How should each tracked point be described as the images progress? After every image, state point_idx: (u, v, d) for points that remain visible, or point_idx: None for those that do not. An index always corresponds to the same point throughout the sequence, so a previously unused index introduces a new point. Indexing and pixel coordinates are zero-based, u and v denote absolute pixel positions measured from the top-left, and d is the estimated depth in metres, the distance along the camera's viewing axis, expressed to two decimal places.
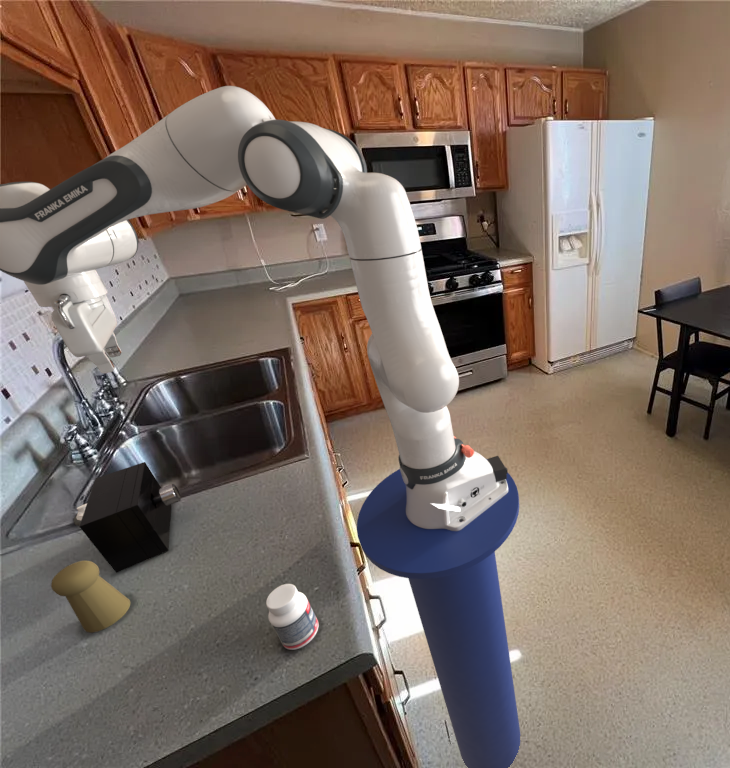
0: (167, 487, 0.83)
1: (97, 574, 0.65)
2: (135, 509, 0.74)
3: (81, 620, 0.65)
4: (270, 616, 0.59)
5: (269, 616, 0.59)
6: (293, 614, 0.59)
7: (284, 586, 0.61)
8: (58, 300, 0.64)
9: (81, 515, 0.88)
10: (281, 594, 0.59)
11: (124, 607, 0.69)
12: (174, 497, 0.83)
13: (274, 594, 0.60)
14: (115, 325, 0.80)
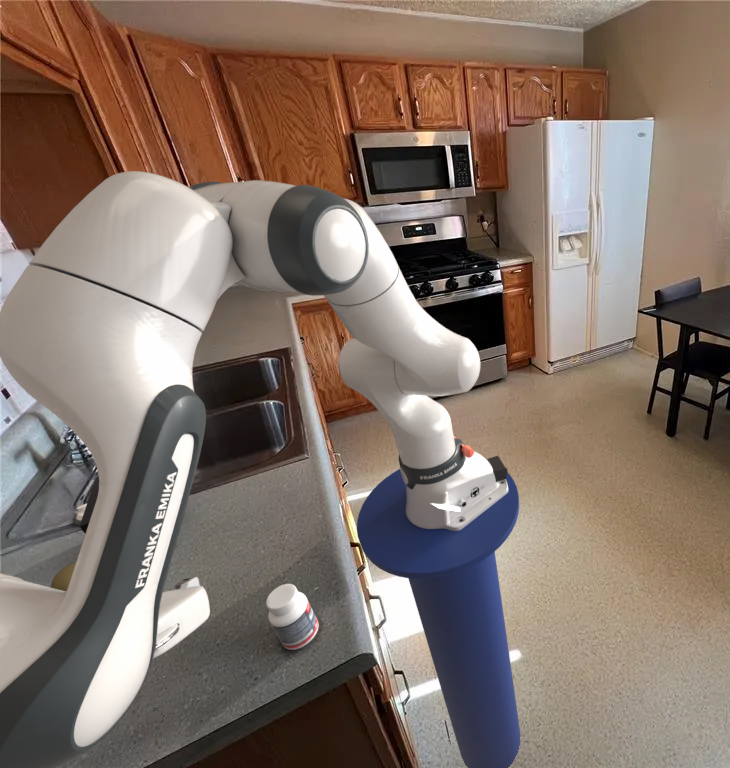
0: None
1: None
2: None
3: None
4: (270, 616, 0.59)
5: (269, 616, 0.59)
6: (293, 614, 0.59)
7: (284, 586, 0.61)
8: None
9: (81, 515, 0.88)
10: (281, 594, 0.59)
11: None
12: None
13: (274, 594, 0.60)
14: None
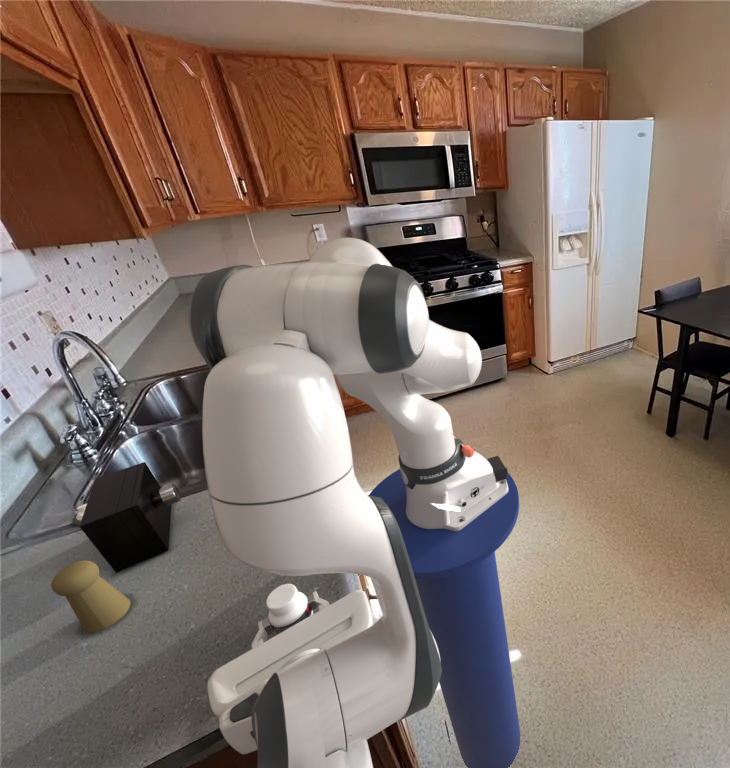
0: (167, 487, 0.83)
1: (97, 574, 0.65)
2: (135, 509, 0.74)
3: (81, 620, 0.65)
4: (270, 616, 0.59)
5: (269, 616, 0.59)
6: (294, 614, 0.59)
7: (284, 586, 0.61)
8: None
9: (81, 515, 0.88)
10: (281, 594, 0.59)
11: (124, 607, 0.69)
12: (174, 497, 0.83)
13: (274, 594, 0.60)
14: (235, 660, 0.54)
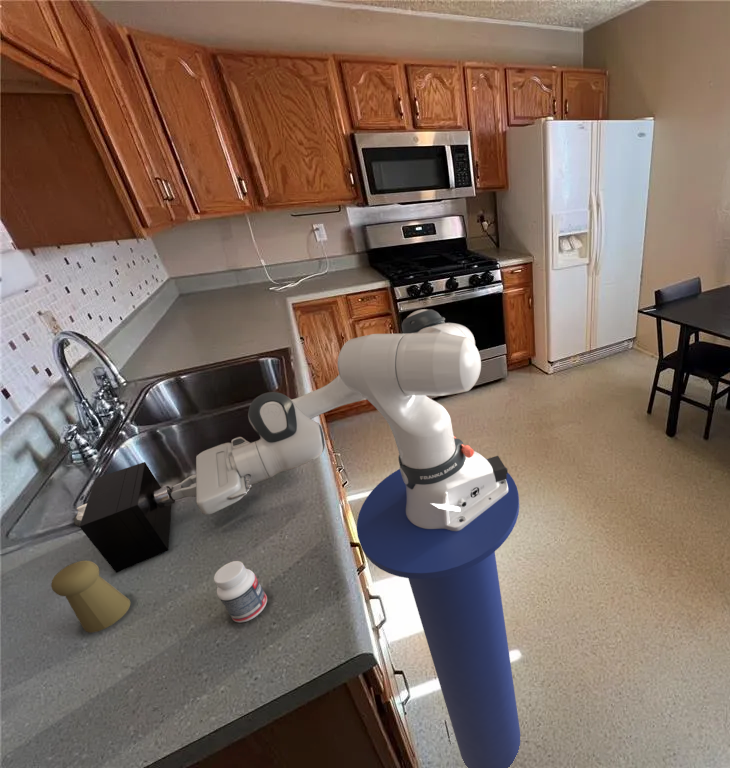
0: (161, 489, 0.83)
1: (97, 574, 0.65)
2: (135, 509, 0.74)
3: (81, 620, 0.65)
4: (218, 591, 0.63)
5: (217, 590, 0.64)
6: (240, 588, 0.63)
7: (232, 563, 0.65)
8: (251, 487, 0.84)
9: (81, 515, 0.88)
10: (228, 570, 0.64)
11: (124, 607, 0.69)
12: (169, 499, 0.82)
13: (222, 570, 0.64)
14: None
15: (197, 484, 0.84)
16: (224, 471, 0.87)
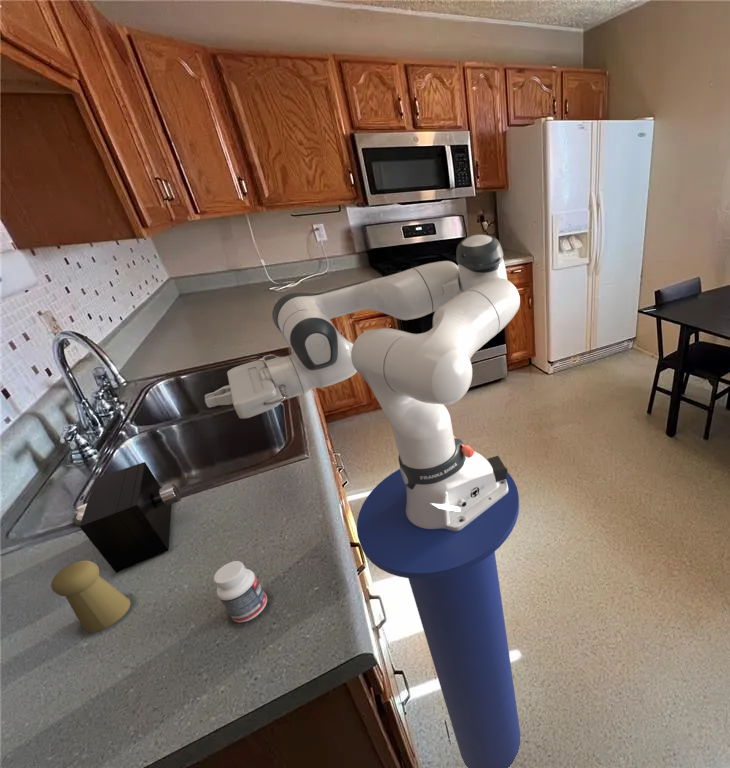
0: (167, 487, 0.83)
1: (97, 574, 0.65)
2: (135, 509, 0.74)
3: (81, 620, 0.65)
4: (218, 591, 0.63)
5: (217, 590, 0.64)
6: (240, 588, 0.63)
7: (232, 563, 0.65)
8: (287, 394, 0.82)
9: (81, 515, 0.88)
10: (228, 570, 0.64)
11: (124, 607, 0.69)
12: (174, 497, 0.83)
13: (222, 570, 0.64)
14: None
15: (232, 391, 0.81)
16: (258, 381, 0.85)
